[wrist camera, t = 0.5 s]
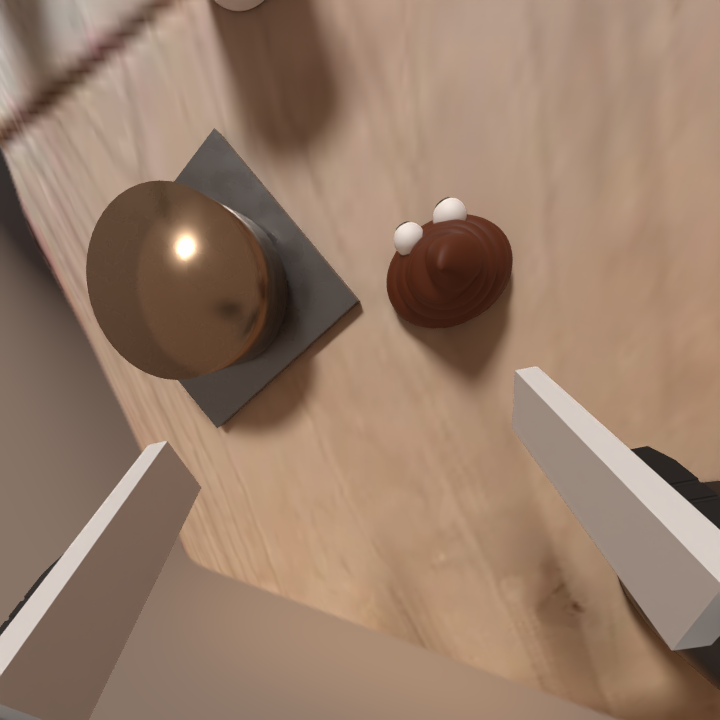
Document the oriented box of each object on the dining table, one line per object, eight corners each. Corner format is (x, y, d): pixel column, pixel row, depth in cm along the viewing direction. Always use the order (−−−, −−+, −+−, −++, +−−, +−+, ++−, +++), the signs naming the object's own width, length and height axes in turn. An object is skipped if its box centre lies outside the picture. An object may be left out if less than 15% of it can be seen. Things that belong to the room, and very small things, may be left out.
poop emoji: (412, 344, 27) (407, 360, 18) (370, 258, 27) (343, 230, 18) (524, 291, 24) (583, 278, 15) (479, 195, 24) (514, 124, 15)
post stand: (360, 301, 27) (338, 297, 20) (223, 424, 32) (170, 454, 26) (221, 134, 27) (155, 76, 21) (108, 283, 33) (25, 275, 26)
